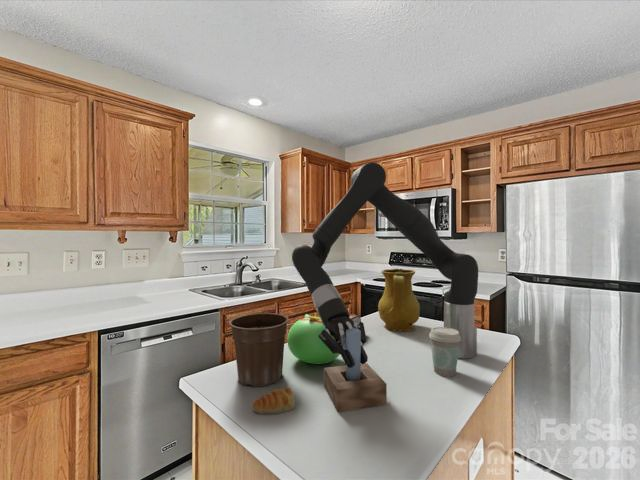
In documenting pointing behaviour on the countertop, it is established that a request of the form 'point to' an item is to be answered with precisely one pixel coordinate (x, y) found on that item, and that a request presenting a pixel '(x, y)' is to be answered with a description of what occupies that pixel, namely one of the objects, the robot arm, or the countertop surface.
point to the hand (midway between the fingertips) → (358, 364)
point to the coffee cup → (445, 350)
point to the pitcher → (398, 301)
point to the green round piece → (309, 341)
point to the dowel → (354, 354)
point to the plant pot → (259, 347)
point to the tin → (355, 318)
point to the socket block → (354, 388)
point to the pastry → (275, 402)
